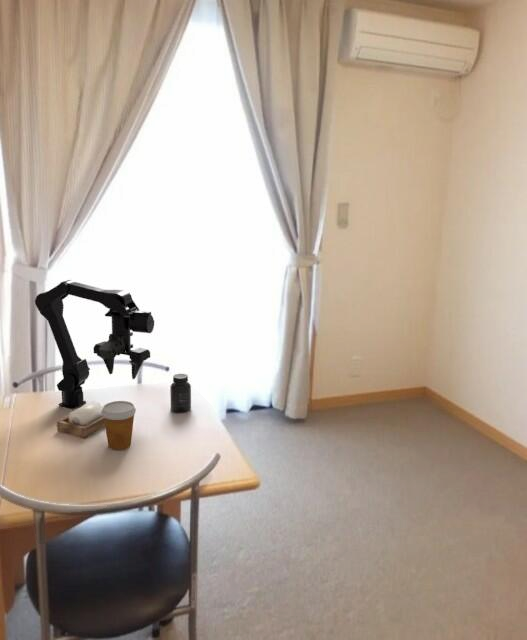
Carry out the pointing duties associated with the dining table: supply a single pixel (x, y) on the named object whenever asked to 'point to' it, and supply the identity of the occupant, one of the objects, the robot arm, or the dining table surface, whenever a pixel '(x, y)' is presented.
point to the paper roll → (86, 414)
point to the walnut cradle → (80, 427)
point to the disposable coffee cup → (119, 424)
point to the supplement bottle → (180, 394)
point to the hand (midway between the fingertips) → (122, 376)
